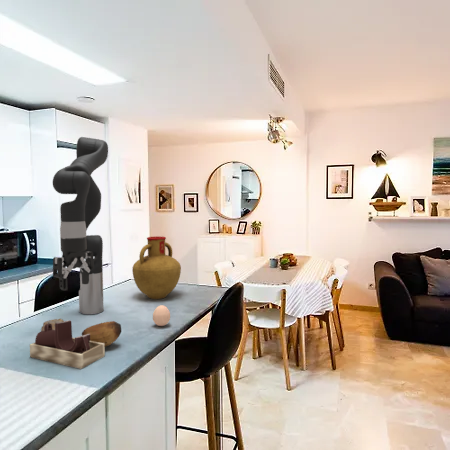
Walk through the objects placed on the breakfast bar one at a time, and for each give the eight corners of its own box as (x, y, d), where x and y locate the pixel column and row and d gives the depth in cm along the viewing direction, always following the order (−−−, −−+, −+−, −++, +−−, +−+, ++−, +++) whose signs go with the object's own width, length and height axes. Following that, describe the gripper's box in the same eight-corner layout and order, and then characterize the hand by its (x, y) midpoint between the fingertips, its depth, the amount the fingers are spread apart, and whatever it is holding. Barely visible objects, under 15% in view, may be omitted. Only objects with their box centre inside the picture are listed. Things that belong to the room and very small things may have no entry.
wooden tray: (30, 357, 114) (29, 344, 114) (55, 346, 123) (55, 334, 122) (81, 369, 106) (81, 355, 105) (104, 356, 114) (104, 343, 114)
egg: (153, 329, 138) (153, 308, 138) (152, 323, 145) (151, 303, 144) (171, 327, 140) (171, 307, 139) (169, 322, 146) (169, 302, 146)
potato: (85, 357, 121) (88, 336, 128) (125, 347, 122) (126, 327, 128) (75, 344, 117) (79, 323, 123) (116, 334, 117) (118, 313, 123)
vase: (157, 289, 202) (157, 234, 200) (191, 295, 188) (190, 236, 186) (122, 298, 183) (121, 237, 181) (156, 306, 169) (155, 240, 167)
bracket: (81, 355, 108) (79, 320, 109) (35, 358, 113) (33, 325, 114) (95, 350, 114) (92, 317, 115) (50, 354, 119) (48, 322, 120)
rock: (36, 334, 135) (46, 335, 128) (39, 317, 136) (49, 318, 129) (61, 334, 141) (71, 335, 134) (63, 318, 142) (73, 319, 135)
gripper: (81, 233, 123) (83, 281, 125) (45, 237, 110) (47, 291, 112) (99, 234, 120) (100, 283, 122) (63, 238, 107) (65, 293, 109)
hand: (75, 287), depth 117 cm, fingers open, 8 cm apart
